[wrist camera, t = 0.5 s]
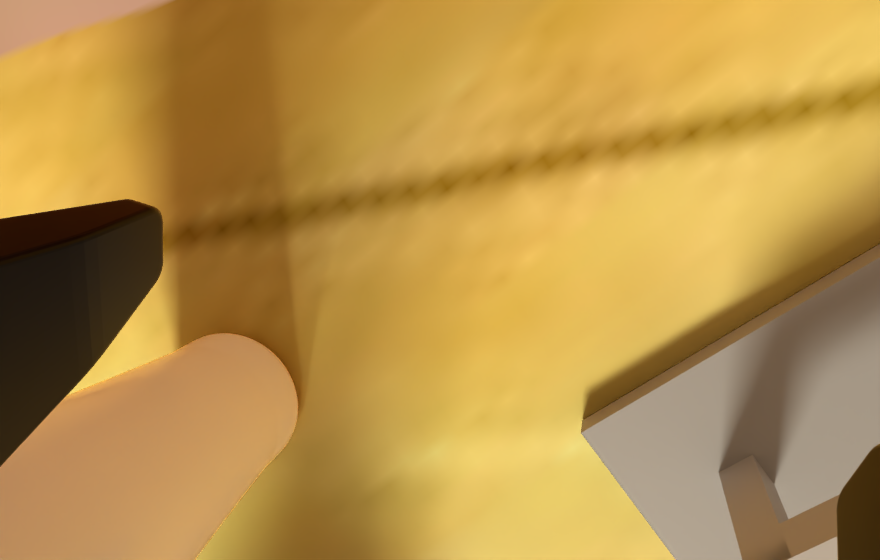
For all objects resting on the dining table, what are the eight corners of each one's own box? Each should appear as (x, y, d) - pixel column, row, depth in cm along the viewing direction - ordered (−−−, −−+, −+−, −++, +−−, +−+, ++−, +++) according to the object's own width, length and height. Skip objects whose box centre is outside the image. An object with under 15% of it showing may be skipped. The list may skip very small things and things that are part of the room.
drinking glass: (285, 289, 27) (-98, 501, 12) (346, 456, 28) (59, 830, 13) (136, 334, 28) (-341, 561, 14) (199, 488, 30) (-189, 844, 15)
